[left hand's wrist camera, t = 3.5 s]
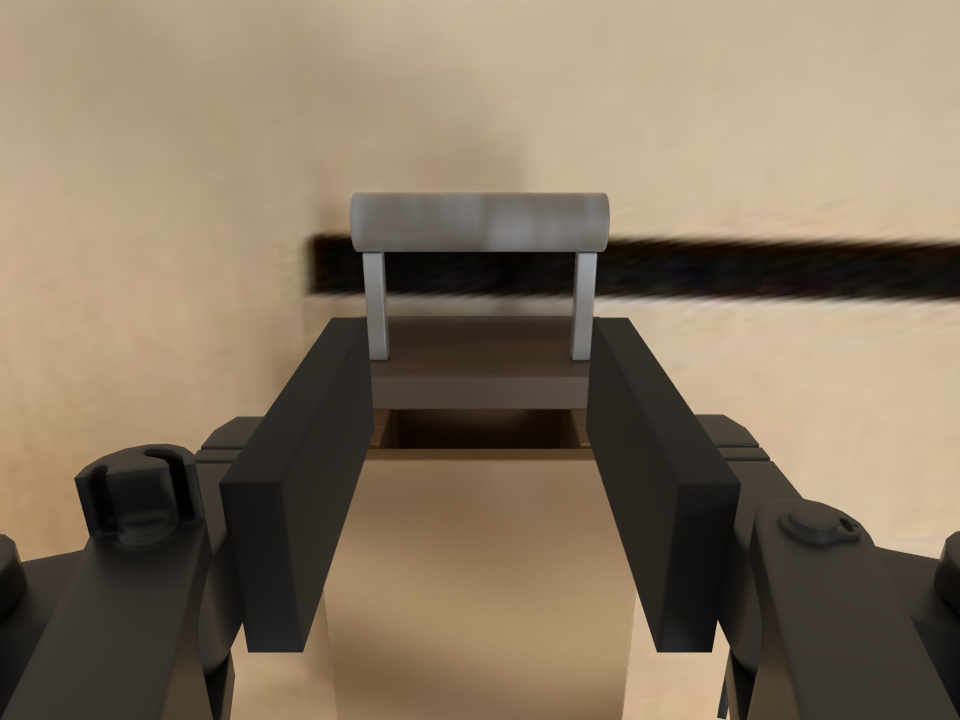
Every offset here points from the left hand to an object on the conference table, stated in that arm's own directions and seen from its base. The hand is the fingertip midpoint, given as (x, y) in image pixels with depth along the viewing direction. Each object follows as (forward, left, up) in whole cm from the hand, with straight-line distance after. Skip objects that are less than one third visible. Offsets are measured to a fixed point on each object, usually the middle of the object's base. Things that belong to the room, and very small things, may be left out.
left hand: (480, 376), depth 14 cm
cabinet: (+12, +9, -12) cm, 19 cm away
